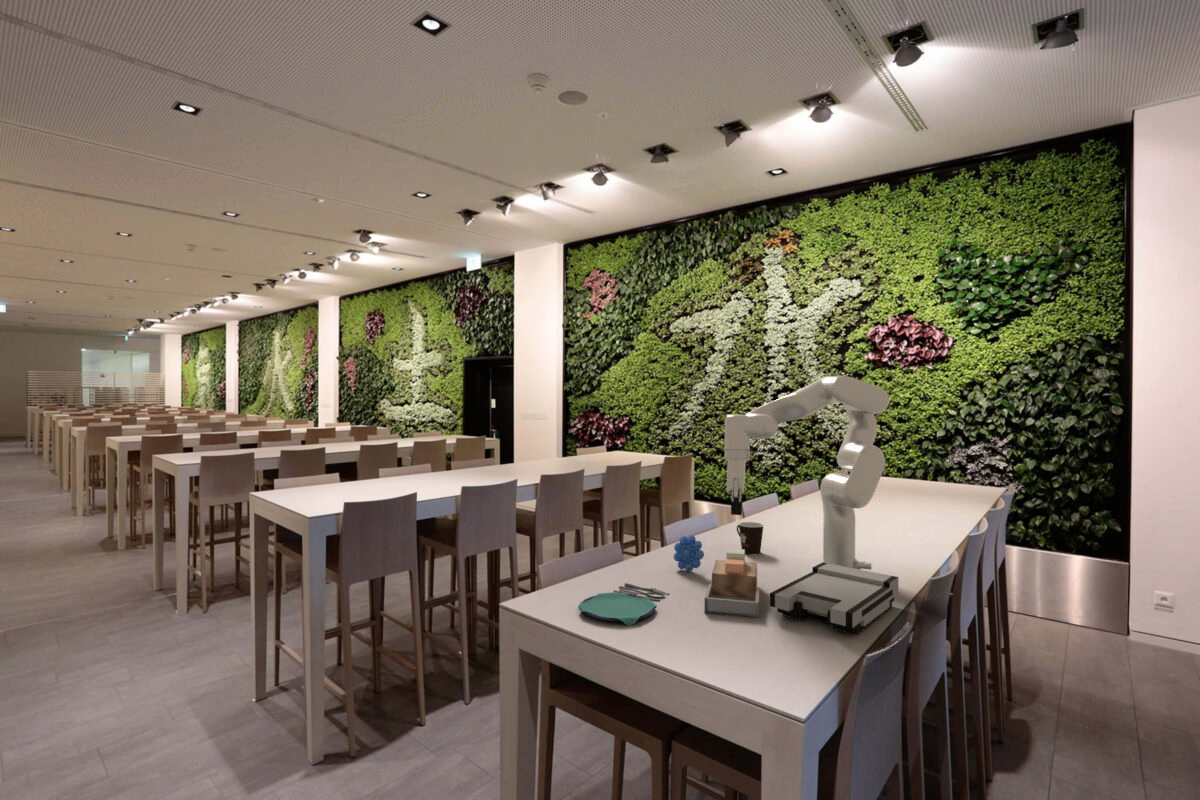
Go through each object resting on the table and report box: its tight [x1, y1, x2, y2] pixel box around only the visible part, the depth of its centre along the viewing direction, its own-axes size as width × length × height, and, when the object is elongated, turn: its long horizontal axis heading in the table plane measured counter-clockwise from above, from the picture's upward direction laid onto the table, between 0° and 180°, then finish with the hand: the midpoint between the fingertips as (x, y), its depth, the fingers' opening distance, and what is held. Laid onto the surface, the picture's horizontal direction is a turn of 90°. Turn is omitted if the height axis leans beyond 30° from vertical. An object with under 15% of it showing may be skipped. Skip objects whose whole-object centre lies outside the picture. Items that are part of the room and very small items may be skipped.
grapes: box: [673, 534, 705, 573], centre depth 195 cm, size 12×7×12 cm, turn 45°
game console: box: [769, 561, 899, 636], centre depth 158 cm, size 21×32×8 cm, turn 137°
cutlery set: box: [577, 582, 670, 627], centre depth 164 cm, size 20×30×2 cm, turn 150°
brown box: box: [711, 559, 758, 599], centre depth 175 cm, size 12×14×7 cm
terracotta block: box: [725, 558, 744, 573], centre depth 172 cm, size 5×5×2 cm
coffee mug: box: [736, 521, 764, 555], centre depth 219 cm, size 12×9×10 cm
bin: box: [704, 583, 760, 619], centre depth 162 cm, size 14×12×4 cm
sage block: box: [725, 548, 746, 565], centre depth 178 cm, size 5×5×4 cm
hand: (736, 514), depth 186 cm, fingers closed
